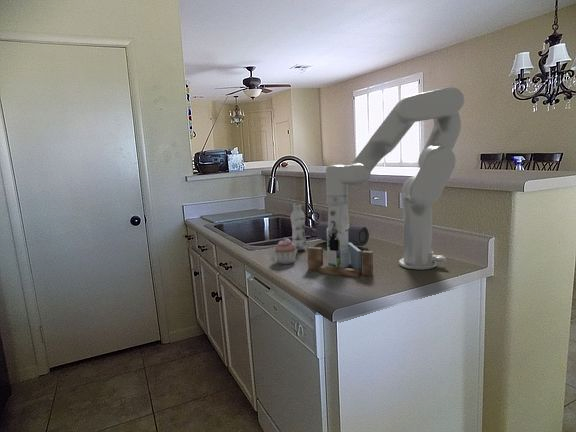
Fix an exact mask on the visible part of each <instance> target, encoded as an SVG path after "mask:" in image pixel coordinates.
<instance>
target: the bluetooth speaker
mask: <svg viewBox="0 0 576 432" xmlns="http://www.w3.org/2000/svg"><path fill="white" fill-rule="evenodd" d="M327 228H328V221H321V222H319V223H318V225H317V227H316V237H317V238H318V240H321V241H325V242H327ZM369 238H370V232H369V229H368V228H367V227H366V226H364V225H359V224H352V223H351V224H350V223H349V229H348V243H349V242H351V243H352V244H353V245H354V246H356V247H364V246H365V245H367V244H368V242H369Z"/></svg>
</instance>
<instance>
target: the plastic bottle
mask: <svg viewBox="0 0 576 432" xmlns="http://www.w3.org/2000/svg"><path fill="white" fill-rule="evenodd" d="M292 209H293V210H292V211H291V213H290V217H289V218H290V222H291V229H292V230H291V231H292V233H291V234H292V236H291V242H292V243H294V245H295V248H296V249H298V251H303V250H306V248H307V239H306V233H305V221H306V215H305V213H304V211H303V210H302V203H293V204H292Z"/></svg>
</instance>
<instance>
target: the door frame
mask: <svg viewBox="0 0 576 432" xmlns="http://www.w3.org/2000/svg"><path fill="white" fill-rule="evenodd" d="M306 248H307V269H308V270H309V271H316V272H317V271H318V273H319V274H327V275H338V276H346V277H357V278H358V277H360V275H361V274H360V269H354V268H353V267H352V268H351V267H350V268H349V267H345V268H341V267H331V266H328V265H324V251H323V247H318V246H317V247H316V246H308V247H306ZM362 273H363V274H362V276H366V277H372V276H373V275H374V251H373V250H362Z"/></svg>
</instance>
